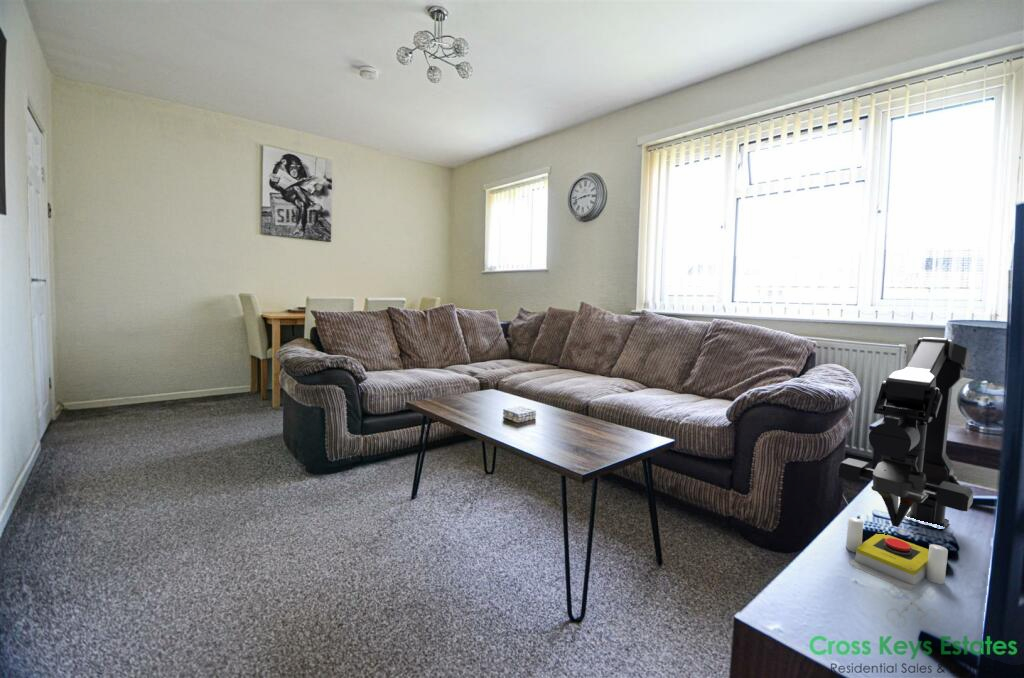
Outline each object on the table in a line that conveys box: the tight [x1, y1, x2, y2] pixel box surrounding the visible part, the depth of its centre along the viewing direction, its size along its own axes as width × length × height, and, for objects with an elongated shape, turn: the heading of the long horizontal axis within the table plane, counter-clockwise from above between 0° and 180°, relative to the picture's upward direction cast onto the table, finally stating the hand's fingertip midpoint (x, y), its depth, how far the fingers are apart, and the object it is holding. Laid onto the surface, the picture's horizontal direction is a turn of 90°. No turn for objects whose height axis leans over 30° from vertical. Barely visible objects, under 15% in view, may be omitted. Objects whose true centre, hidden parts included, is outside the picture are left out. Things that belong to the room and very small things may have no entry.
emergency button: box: [849, 533, 929, 591], centre depth 86 cm, size 9×4×15 cm
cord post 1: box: [845, 517, 864, 553], centre depth 91 cm, size 2×2×6 cm
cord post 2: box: [925, 543, 949, 585], centre depth 81 cm, size 2×2×6 cm
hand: (895, 525), depth 86 cm, fingers closed
